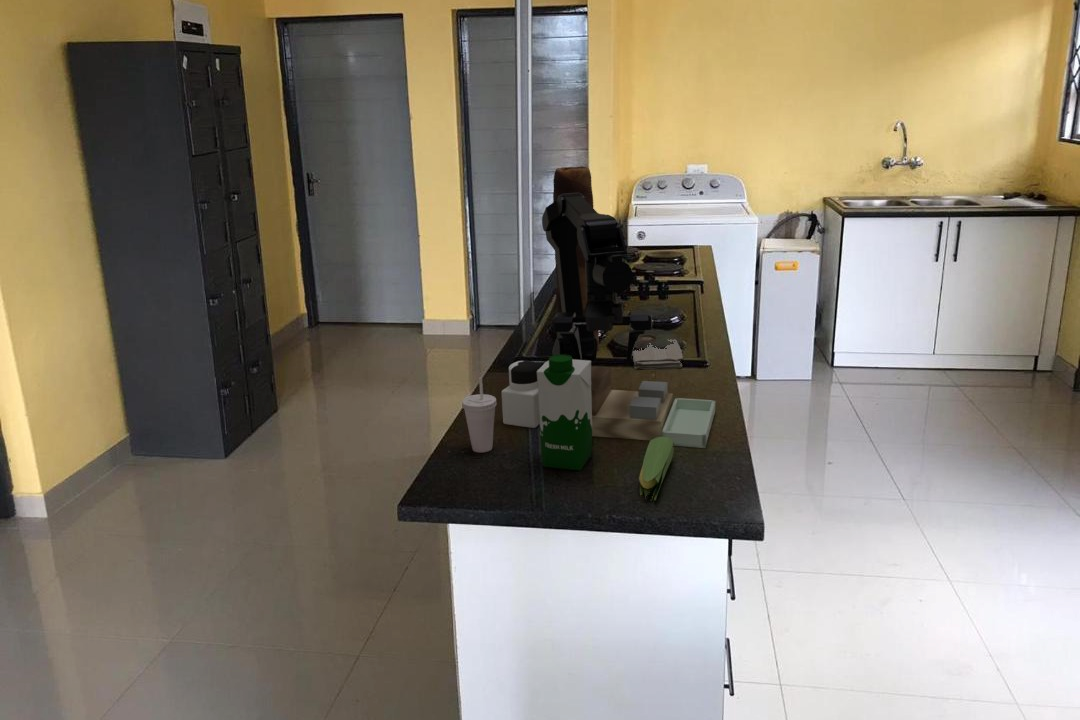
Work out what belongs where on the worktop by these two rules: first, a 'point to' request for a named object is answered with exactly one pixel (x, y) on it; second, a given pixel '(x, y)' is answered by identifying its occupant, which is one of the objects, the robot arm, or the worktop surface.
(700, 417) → the tray
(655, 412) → the tile
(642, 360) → the washcloth
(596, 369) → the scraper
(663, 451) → the edible corn
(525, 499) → the worktop surface
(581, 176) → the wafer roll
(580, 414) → the milk carton
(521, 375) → the medicine bottle
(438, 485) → the worktop surface
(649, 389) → the tile
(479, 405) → the smoothie
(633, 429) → the board
